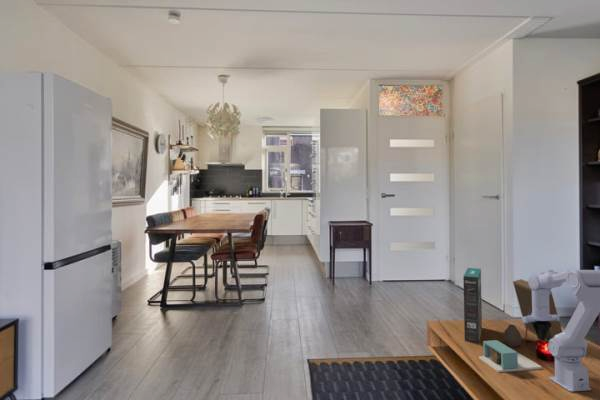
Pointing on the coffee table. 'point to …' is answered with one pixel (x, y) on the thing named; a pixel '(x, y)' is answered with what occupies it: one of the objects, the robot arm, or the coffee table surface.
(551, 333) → the photo frame
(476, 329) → the cake mix box
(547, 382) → the coffee table surface
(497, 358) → the block
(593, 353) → the coffee table surface
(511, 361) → the cover
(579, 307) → the robot arm
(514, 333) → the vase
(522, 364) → the base plate
